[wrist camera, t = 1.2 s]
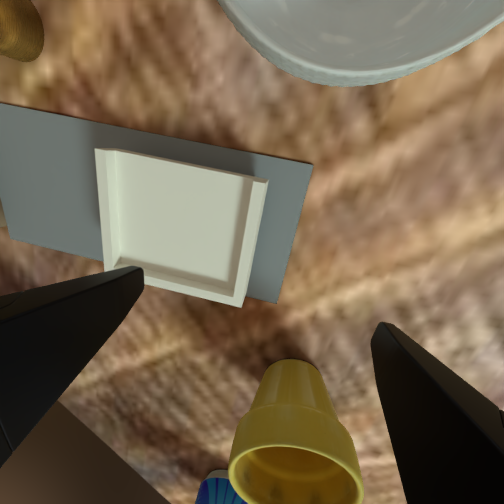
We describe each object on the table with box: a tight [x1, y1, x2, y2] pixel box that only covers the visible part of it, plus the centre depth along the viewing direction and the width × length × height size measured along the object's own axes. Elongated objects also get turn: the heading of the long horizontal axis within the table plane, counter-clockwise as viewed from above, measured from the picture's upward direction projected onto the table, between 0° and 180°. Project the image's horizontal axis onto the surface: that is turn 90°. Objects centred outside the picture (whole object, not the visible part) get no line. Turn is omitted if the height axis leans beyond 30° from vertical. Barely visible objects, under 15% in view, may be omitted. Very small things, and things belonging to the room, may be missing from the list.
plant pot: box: [228, 359, 364, 504], centre depth 23 cm, size 10×10×10 cm
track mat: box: [0, 103, 313, 304], centre depth 22 cm, size 13×29×1 cm, turn 80°
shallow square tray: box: [95, 148, 269, 308], centre depth 20 cm, size 10×12×4 cm
